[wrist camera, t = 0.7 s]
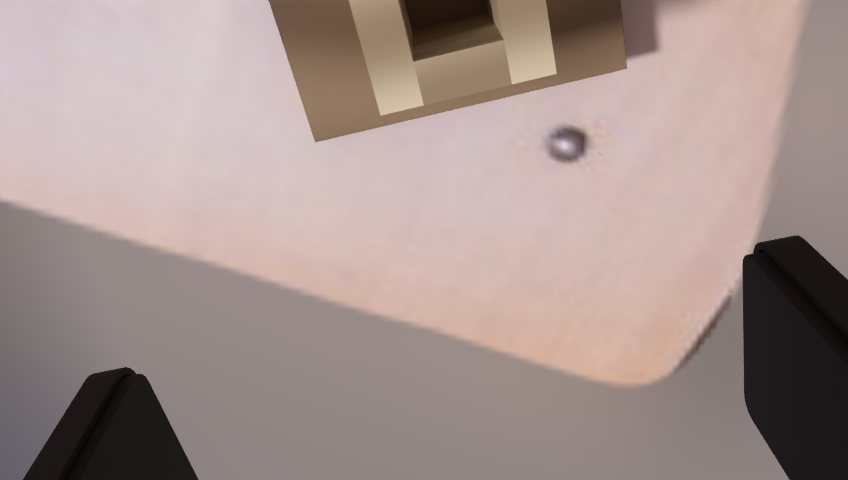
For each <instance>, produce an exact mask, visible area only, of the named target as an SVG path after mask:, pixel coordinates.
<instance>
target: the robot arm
mask: <svg viewBox="0 0 848 480" xmlns="http://www.w3.org/2000/svg"><path fill="white" fill-rule="evenodd" d="M743 333H744V394H745V395H744V396H745V402H746V406H747V409H748V412H749V414H750V416H751V418H752V420H753V422H754V423H755V425H756V427H757V428H758V430H759V431H760V433H761V435H762V436H763V438H764V439H765V441H766V443H767V444H768V446H769V447H770V449H771V451H772V452H773V454H774V455H775V457H776V458H777V460H778V462H779V463H780V465H781V467H782V468H783V470H784V471H785V473H786V475H787V476H788V478H789V479H790V480H848V280H847V279H846V278H845V277H844V276H843V275H842V274H841V273H839V271H838V270H837V269H835V268H834V267H833V266H832V265H831V264H830V263H829V262H828V261H827V260H826V259H825V258H824V257H823V256H821V255H820V254H819V253H818V252H817V251H816V250H815V249H814V248H813V247H812V246H811V245H810V244H809V243H808V242H806V241H805V240H804V239H803V238H802V237H800V236H790V237H786V238H780V239H775V240H770V241H765V242H760V243H757V244H756V245H755V248H754V253H753V254H750V255H746V256H745V257H744V259H743ZM23 480H198V478H197V476H196V474H195V472H194V470H193V468H192V467H191V464H190V462H189V460H188V458H187V456H186V454H185V452H184V451H183V449H182V446H181V444H180V442H179V440H178V438H177V436H176V435H175V433H174V431H173V429H172V427H171V425H170V423H169V421H168V419H167V417H166V415H165V413H164V411H163V409H162V407H161V405H160V403H159V401H158V399H157V397H156V395H155V393H154V391H153V389H152V387H151V385H150V383H149V381H148V380H147V378H146V377H145V376H144V375H143V374H136V373H135V372H134V371H133V370H132V369H130V368H127V367H125V368H120V369H115V370H109V371H104V372H100V373H95V374H92V375H90V376H89V377H88V378H87V379H86V380H85V382H84V383H83V385H82V387H81V388H80V390H79V391H78V393H77V394H76V396H75V398H74V399H73V401H72V402H71V404H70V406H69V407H68V409H67V410H66V412H65V414H64V415H63V417H62V418H61V420H60V421H59V423H58V425H57V426H56V428H55V429H54V431H53V433H52V434H51V436H50V437H49V439H48V441H47V442H46V444H45V445H44V447H43V449H42V450H41V452H40V453H39V455H38V457H37V458H36V460H35V461H34V463H33V464H32V466H31V468H30V469H29V471H28V472H27V474H26V476H25V477H24V479H23Z"/></svg>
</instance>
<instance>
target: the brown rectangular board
mask: <svg viewBox="0 0 848 480" xmlns="http://www.w3.org/2000/svg"><path fill="white" fill-rule="evenodd" d="M269 2H270V5H271V8H272V11H273V15H274V18H275V21H276V24H277V27H278V30H279V33H280V36H281V39H282V42H283V45H284V48H285V51H286V54H287V57H288V60H289V63H290V66H291V70H292V73H293V76H294V79H295V82H296V85H297V88H298V91H299V94H300V97H301V100H302V103H303V106H304V109H305V112H306V115H307V118H308V121H309V125H310V128H311V131H312V134H313V137H314V140H315V142H318V141H323V140H327V139H331V138H335V137H340V136H344V135H348V134H352V133H357V132H361V131H365V130H369V129H373V128H378V127H382V126H386V125H390V124H395V123H399V122H403V121H407V120H412V119H416V118H420V117H424V116H429V115H433V114H437V113H441V112H445V111H450V110H454V109H458V108H462V107H467V106H471V105H475V104H479V103H484V102H488V101H492V100H496V99H501V98H505V97H509V96H513V95H517V94H522V93H526V92H530V91H534V90H539V89H543V88H547V87H551V86H556V85H560V84H564V83H568V82H573V81H577V80H581V79H585V78H589V77H594V76H598V75H602V74H606V73H611V72H615V71H619V70H623V69H627V63H626V53H625V43H624V34H623V24H622V14H621V4H620V0H546V5H547V12H548V19H549V25H550V32H551V39H552V45H553V52H554V59H555V65H556V72H557V74H554V75H550V76H546V77H541V78H537V79H533V80H529V81H525V82H520V83H516V84H512V85H508V86H504V87H499V88H495V89H491V90H487V91H483V92H478V93H474V94H470V95H466V96H461V97H457V98H453V99H449V100H445V101H440V102H436V103H432V104H428V105H424V106H419V107H415V108H411V109H407V110H403V111H398V112H394V113H390V114H386V115H380V112H379V108H378V105H377V101H376V97H375V94H374V90H373V87H372V83H371V79H370V76H369V72H368V68H367V65H366V61H365V58H364V54H363V50H362V47H361V43H360V39H359V36H358V32H357V29H356V25H355V21H354V18H353V14H352V10H351V7H350V3H349V0H269ZM405 3H406V7H407V11H408V15H409V20H410V24H411V28H412V30H413V29H417V28H421V27H425V26H429V25H433V24H438V23H442V22H446V21H450V20H454V19H458V18H462V17H466V16H470V15H474V14H478V13H482V12H486V11H488V9H487V3H486V0H405Z"/></svg>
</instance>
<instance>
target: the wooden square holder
mask: <svg viewBox="0 0 848 480" xmlns="http://www.w3.org/2000/svg"><path fill="white" fill-rule="evenodd" d="M349 3H350V7H351V10H352V14H353V18H354V21H355V25H356V29H357V32H358V36H359V39H360V43H361V47H362V50H363V54H364V58H365V61H366V65H367V68H368V72H369V76H370V79H371V83H372V87H373V90H374V94H375V97H376V101H377V105H378V108H379V112H380V115H386V114H390V113H394V112H398V111H403V110H407V109H411V108H415V107H419V106H424V105H428V104H432V103H436V102H440V101H445V100H449V99H453V98H457V97H461V96H466V95H470V94H474V93H478V92H483V91H487V90H491V89H495V88H499V87H504V86H508V85H512V84H516V83H520V82H525V81H529V80H533V79H537V78H541V77H546V76H550V75H554V74H557V72H556V65H555V59H554V52H553V45H552V39H551V32H550V25H549V19H548V12H547V5H546V0H486V3H487V9H488V11H486V12H482V13H478V14H474V15H470V16H466V17H462V18H458V19H454V20H450V21H446V22H442V23H438V24H433V25H429V26H425V27H421V28H417V29H413V30H412V28H411V24H410V20H409V15H408V11H407V7H406V3H405V0H349Z"/></svg>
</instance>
